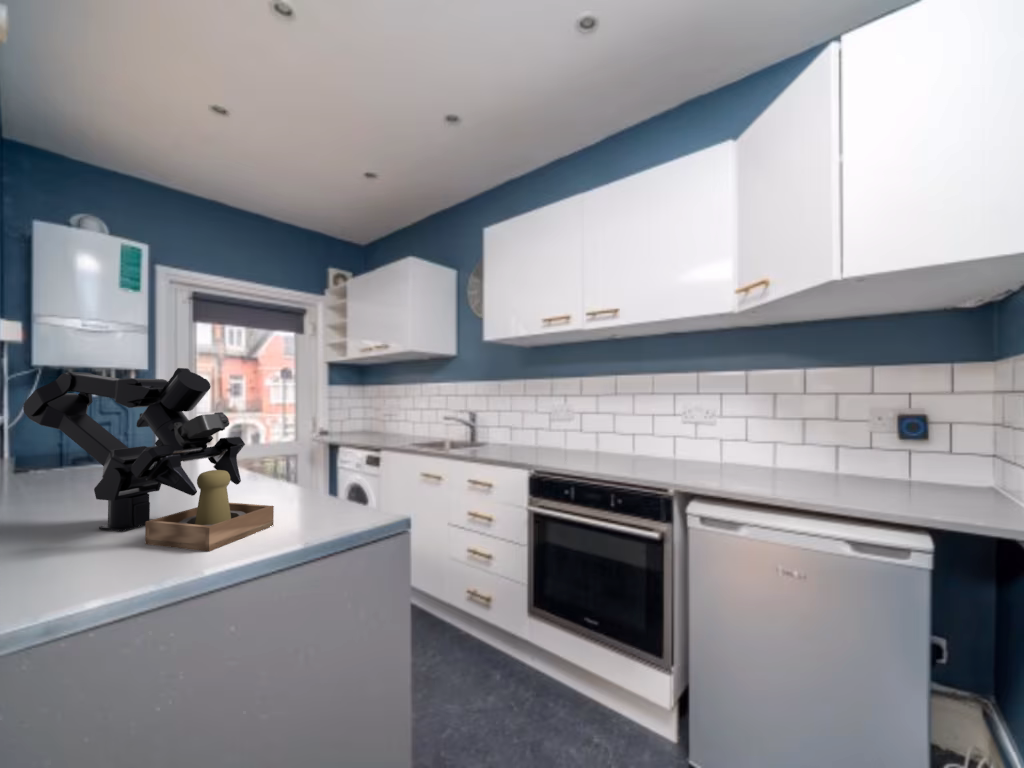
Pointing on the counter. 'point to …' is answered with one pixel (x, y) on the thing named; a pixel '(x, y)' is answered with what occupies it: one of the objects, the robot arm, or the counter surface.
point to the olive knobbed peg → (213, 497)
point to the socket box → (208, 528)
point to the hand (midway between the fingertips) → (218, 488)
